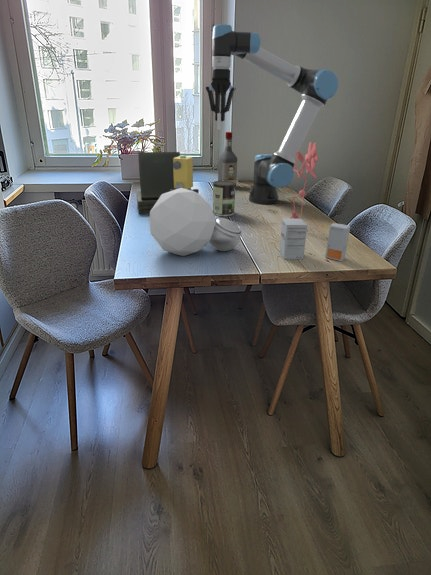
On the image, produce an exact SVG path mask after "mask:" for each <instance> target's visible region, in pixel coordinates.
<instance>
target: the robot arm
mask: <svg viewBox="0 0 431 575" xmlns="http://www.w3.org/2000/svg"><path fill="white" fill-rule="evenodd" d="M232 28H233V27H232V25H231V24H225V23H223V24H222V23H221V24H215V25H214V26H213V29H212V38H211V39H212V61H211V62H212V63H211V64H212V65H211V67H212V68H213V69H212V70H211V82H210V84H209V85H208V86H205V90H206V92H207V95H208V101H209V105H210V110H211V111H212V112H214V114H215V117H214V119H215V122H216V130H220V131H221V130H223V123H224V122H225V120H226V119H225V118H226V116H225V114H226V113H228V112H230V109H231V105H232V101H233V96H234V93H235V92H236V90H237V89H236V87H234V86H233V85H232V83H231V64H232V63H231V62H232V59H231V58H232V57H231V56H235V57H237V58H239V59H242V60H243V61H245V62H247V63H249V64H251V65H253V66H254V67H256V68H259V69H261V70H262V71H264V72H266V73H268V74H270V75H272V76H273V77H275V78H277V79H279V80H281V81H283V82H285V83H286V85H287V87H289V88H290V89H292V90H293V91H295V92H298V93H299V94H301V95H300V97H301V102H300V103H299V106H298V109H297V111H296V113H295V115H294V116H293V119H292V121H291V124H290V125H289V127H288V129H287V131H286V134H285V136H284V137H283V140H282V142H281V143H280V146H279V148H278V150H277V151H275V152H273V153H272V154H257V155H255V156H254V161H253V162H254V166H253V183H252V184H253V185H252V187H251V190H250V192H249V196H248V201H250V203H254V204H260V205H261V204H262V205H273V204H277V203H278V202H279V193H278V188H280V189H281V188H285V187H287V186H288V185H289V184H290V183H292V181H293V178H294V175H295V171H293V170H294V165H295V161H296V157H297V152H298V151H299V150H300V148H301V147H302V144H303V142H304V141H305V138H306V137H307V134H308V132H309V130H310V128H311V126H312V124H313V122H314V121H315V118H316V116H317V115H318V112H319V110H320V109H322V108H324V107H325V105H326V104H327V102H328V100H329V99H331V98H333V97H334V96H335V94H336V93H337V92H338V88H339V79H338V76H337V74H336V73H335V72H334V71H333V70H331V69H327V68H322V69H312V68H311V69H310V68H305V67H302V66H300V65H294V64H292V63H289V62H288V61H286V60H285V59H282V58H280V56H277V55H276V54H274V53H272V52H270V51H268V50H267V49H264V48H263V47H261V36H260V34H259V33H258V32H253V31H249V32H248V31H234V30H233V29H232ZM228 91H229V92H228ZM213 92H214V93H213ZM227 92H228V95H227ZM214 96H215V98H214ZM226 96H227V98H226ZM226 99H227V100H226Z"/></svg>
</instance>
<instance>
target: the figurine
mask: <svg viewBox="0 0 431 575" xmlns="http://www.w3.org/2000/svg"><path fill="white" fill-rule="evenodd" d="M317 150H318V148H317V142H314V143H313V142H312V141H310V142H309V143H308V147H307V153H306V154H305V155H303V153H301V151H298V152H297V155H296V157H295V165H294V168H293V171H294V172H296V173H297V175H298V176H297V177H298V179H299V180H300V179H301V177H303V178H304V179H305V182H304V186H303V189H300V190H299V192H298V194H297V195H293V197H292V200H293V201H292V202H293V211H292V212H291V217H290V218H289V219H302V217H303V206H304V199H305V196H306V193H307V192H306V191H305V188H306V185H307V182H308V178H307V176H306V175H304V174H303V172H304V170H305V168H306V171H305V172H306V174H310V176H311V177H313V179H315V180H316V181H317V180H318V178H317V176H316V174H315V169H316V163H317V162H318V161H319V154H318V153H317ZM298 160H299V162H300V163H301V166H300V167H299V169H296V166H297V162H298ZM300 171H301V172H300ZM298 196H300V197H302V200H301V201H302V202H301V211H300V216H299V215H298V213H297V212H296V206H295V198H296V197H298ZM305 221H306V222H307V220H304V222H305ZM308 222H310V223H311V221H310V220H308ZM312 223H313V224H316V222H314V221H312ZM317 225H318V226H320V227H321V228H323V225H320V224H318V223H317ZM307 233H309V230H308V229H307Z"/></svg>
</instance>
